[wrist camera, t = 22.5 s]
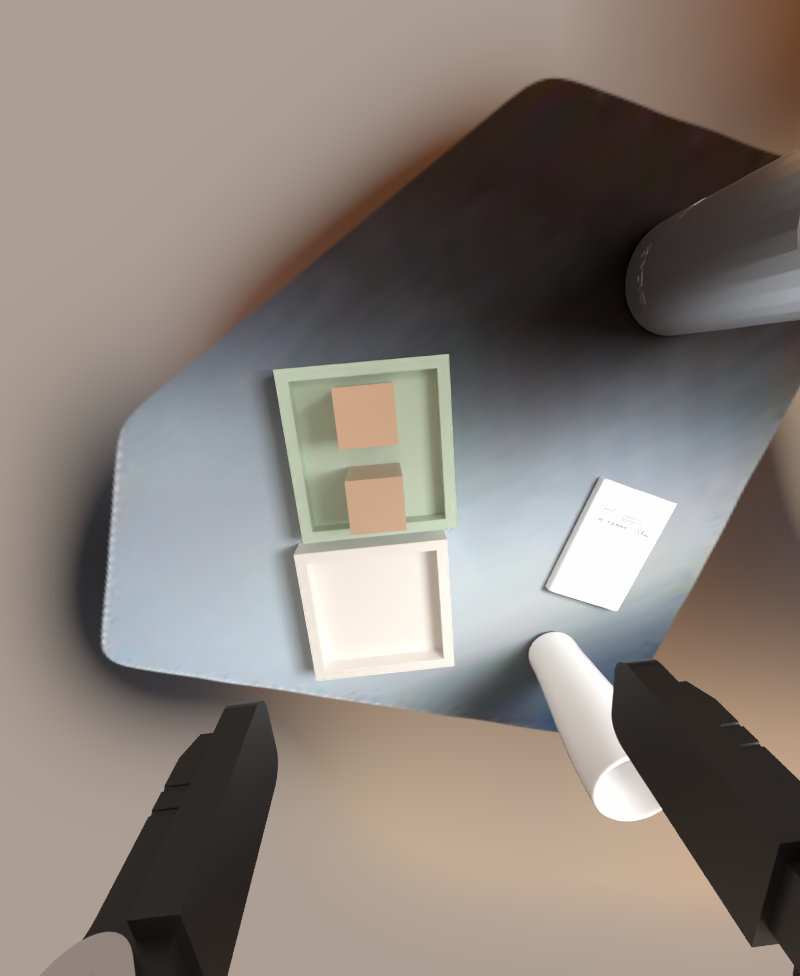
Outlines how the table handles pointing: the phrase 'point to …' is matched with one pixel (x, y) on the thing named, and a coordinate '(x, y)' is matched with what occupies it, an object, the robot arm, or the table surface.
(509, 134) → the table surface
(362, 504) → the tan block
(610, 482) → the external hard drive
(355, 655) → the tray
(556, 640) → the drinking glass
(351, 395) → the tan boxy piece
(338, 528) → the tray
